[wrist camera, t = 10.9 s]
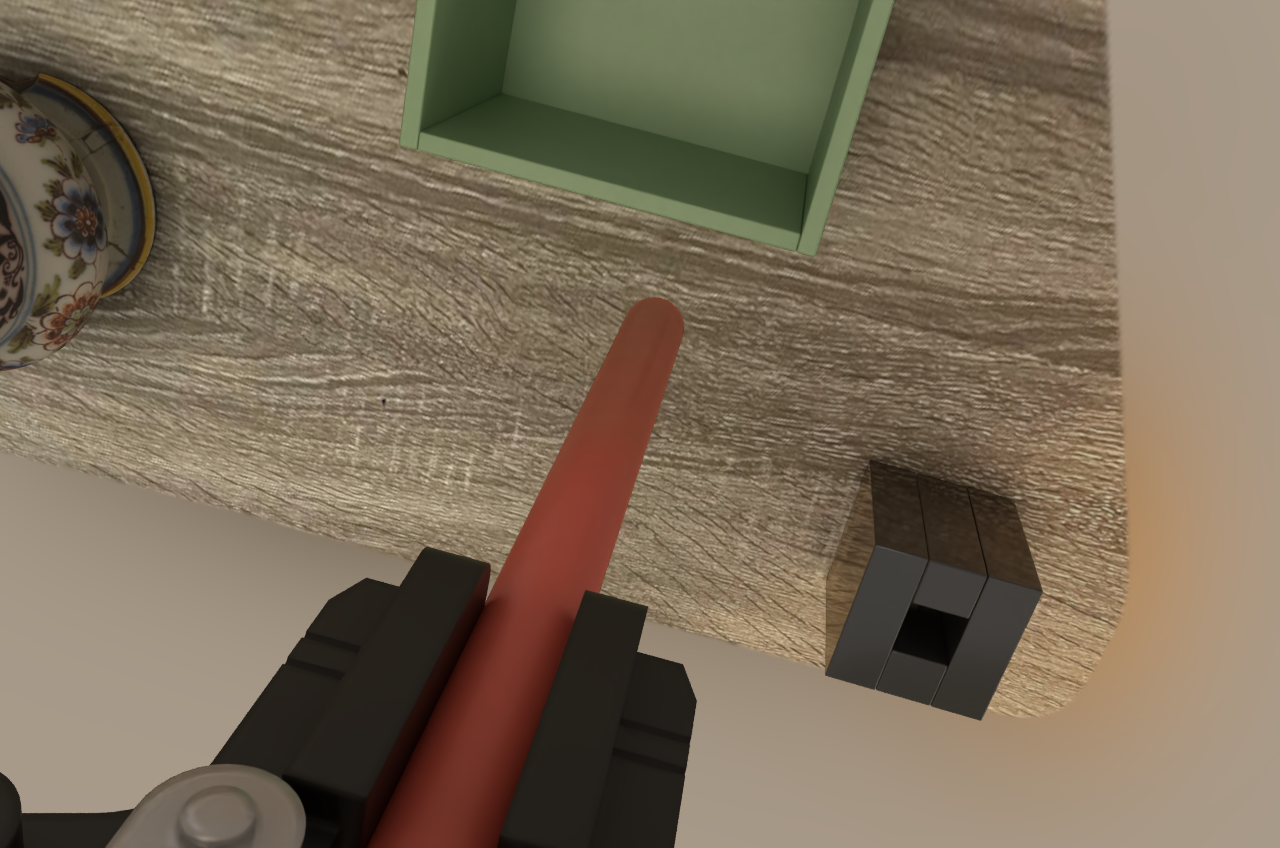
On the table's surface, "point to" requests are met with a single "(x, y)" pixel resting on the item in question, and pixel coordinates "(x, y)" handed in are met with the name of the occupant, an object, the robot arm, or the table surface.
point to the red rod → (535, 604)
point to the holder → (928, 591)
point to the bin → (653, 102)
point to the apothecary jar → (64, 214)
